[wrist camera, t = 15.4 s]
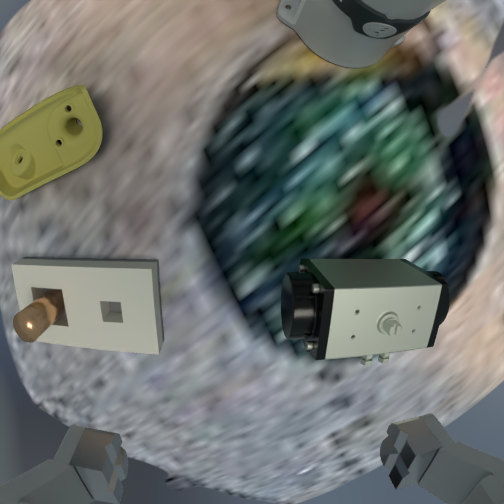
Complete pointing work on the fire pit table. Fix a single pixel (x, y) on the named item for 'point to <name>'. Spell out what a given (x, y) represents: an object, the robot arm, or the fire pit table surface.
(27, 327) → the brown cylinder
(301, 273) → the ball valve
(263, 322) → the fire pit table surface
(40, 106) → the plastic component
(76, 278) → the fitting block
